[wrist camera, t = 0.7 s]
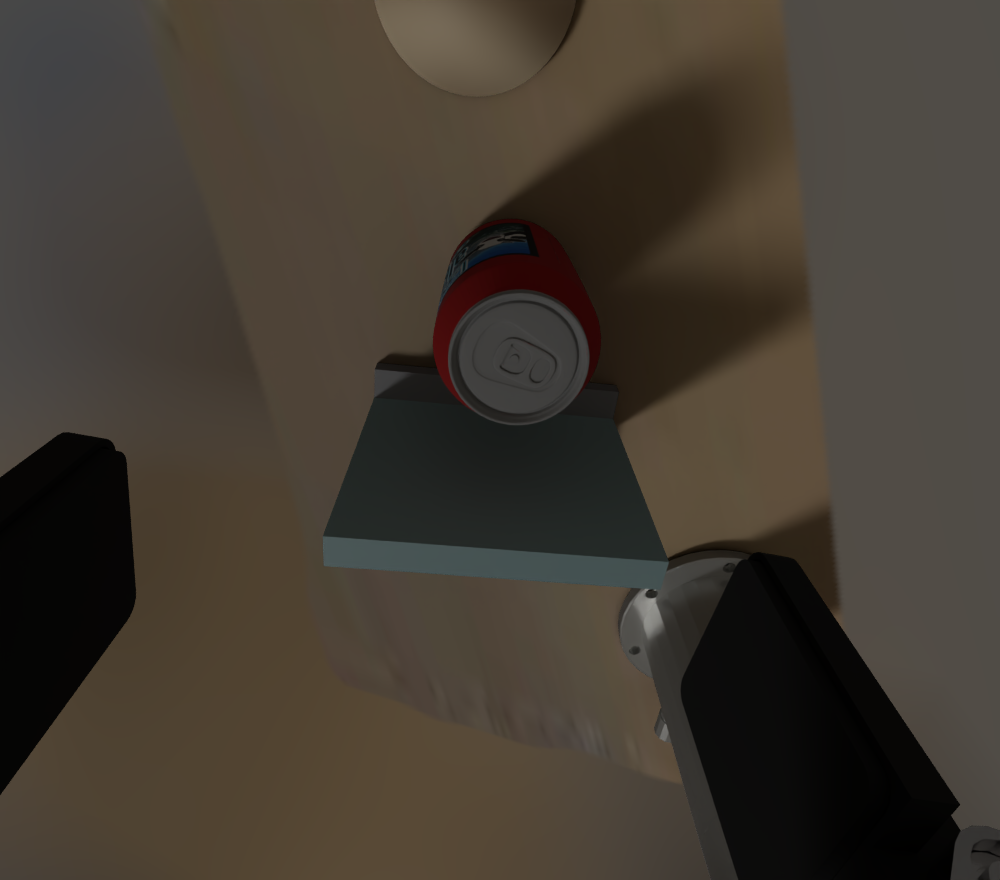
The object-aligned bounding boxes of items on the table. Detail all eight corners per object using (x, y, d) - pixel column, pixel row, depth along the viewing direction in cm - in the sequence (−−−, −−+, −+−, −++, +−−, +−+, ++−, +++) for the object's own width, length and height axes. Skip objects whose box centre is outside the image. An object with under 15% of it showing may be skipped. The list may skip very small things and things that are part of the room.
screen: (600, 457, 40) (651, 620, 27) (376, 438, 39) (324, 598, 26) (615, 385, 37) (679, 527, 25) (377, 362, 36) (321, 499, 24)
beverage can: (480, 191, 32) (477, 238, 21) (594, 252, 33) (643, 323, 23) (426, 307, 35) (400, 399, 24) (534, 358, 36) (553, 466, 26)
